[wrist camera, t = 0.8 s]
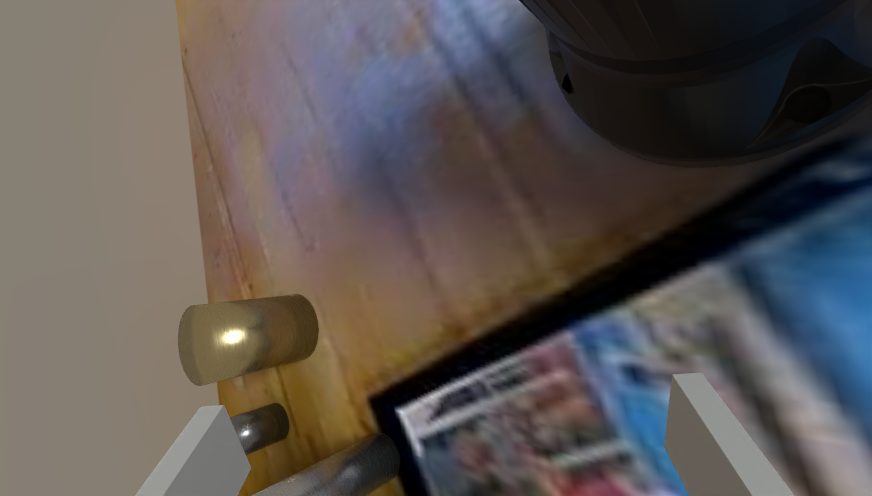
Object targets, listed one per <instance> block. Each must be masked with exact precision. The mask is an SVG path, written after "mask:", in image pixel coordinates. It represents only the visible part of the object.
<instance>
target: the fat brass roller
mask: <svg viewBox="0 0 872 496" xmlns="http://www.w3.org/2000/svg"><path fill="white" fill-rule="evenodd" d="M318 333H319V328H318V320H317V316H316V313H315V310H314V308H313V306H312V305H311V303H310V302H309V301H308V300H307V299H306V298H305V297H303V296H302V295H298V294H294V295H285V296H276V297H267V298H258V299H249V300H239V301H230V302H221V303H212V304H204V305H194V306H190V307H189V308H187V309H186V311H185V312H184V314H183V316H182V318H181V322H180V325H179V332H178V347H179V355H180V359H181V363H182V366H183V369H184V371H185V373H186V375H187V377H188V378H189V379H190V381H191V382H192V383H194V384H195V385H198V386H201V385H206V384H210V383H213V382H217V381H221V380H225V379H229V378H233V377H237V376H241V375H245V374H249V373H253V372H256V371H260V370H264V369H268V368H272V367H276V366H280V365H284V364H288V363H292V362H296V361H300V360H303V359H306V358H308V357H309V356H310V355H311V354H312V353H313V352H314V350H315V348H316V345H317V341H318Z"/></svg>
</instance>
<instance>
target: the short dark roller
mask: <svg viewBox="0 0 872 496" xmlns="http://www.w3.org/2000/svg"><path fill="white" fill-rule="evenodd" d="M230 420H231V422H232V425H233V427H234V429H235V431H236V434H237V436H238V438H239V441H240V443H241V445H242V448H243V450H244V452H245V455H247V454H250V453H252V452H254V451H257V450H259V449H262V448H264V447H267V446H269V445H271V444H274V443H276V442H279V441H281V440H283V439H285V438H286V436H287V434H288V431H289V420H288V416H287V413H286V411H285V409H284V408H283V407H282V406H281V405H280V404H278V403H273V404H270V405H267V406H264V407H261V408H258V409H255V410H252V411H249V412H246V413H243V414H240V415H237V416H234V417H231V418H230Z"/></svg>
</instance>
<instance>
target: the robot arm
mask: <svg viewBox="0 0 872 496" xmlns="http://www.w3.org/2000/svg"><path fill="white" fill-rule="evenodd" d="M519 1H520V2H521V3H522V4H523V5H524V6H525V7H526V8H527V9H528V10H529V11H530V12H531V13H532V14H534V15H535V16H536V17H537V18H538V19H539V20H540V21H541V22H542V23H543V24H544V25H545V29H546V35H547V41H548V47H549V53H550V59H551V63H552V67H553V71H554V74H555V77H556V80H557V82H558V85H559V87H560V89H561V91H562V93H563V95H564V97H565V98H566V100H567V102H568V103H569V105H570V106H571V107H572V109H573V110H574V111H575V113H576V114H577V115H578V116H579V118H580V119H581V120H582V121H583V122H584V123H585V124H586V125H587V126H589V127H590V128H591V129H592V130H593V131H595V132H596V133H597V134H599V135H600V136H601V137H603V138H604V139H606V140H607V141H608V142H610V143H611V144H613V145H614V146H616V147H618V148H619V149H621V150H623V151H625V152H627V153H629V154H632V155H634V156H637V157H639V158H642V159H645V160H648V161H652V162H656V163H660V164H666V165H672V166H681V167H718V166H728V165H735V164H740V163H746V162H750V161H755V160H759V159H763V158H766V157H769V156H773V155H776V154H779V153H782V152H785V151H787V150H790V149H793V148H795V147H798V146H800V145H802V144H805V143H807V142H809V141H811V140H813V139H815V138H817V137H819V136H821V135H823V134H825V133H827V132H829V131H830V130H832V129H834V128H836V127H838V126H839V125H841V124H842V123H844V122H845V121H847V120H849V119H850V118H852V117H853V116H855V115H856V114H858V113H859V112H860V111H862V110H863V109H864V108H866V107H867V106H869V105H870V104H871V103H872V0H519ZM664 447H665V449H666V451H667V453H668V455H669V457H670V459H671V461H672V463H673V465H674V467H675V468H676V470H677V472H678V474H679V476H680V478H681V480H682V482H683V484H684V486H685V488H686V490H687V492H688V494H689V495H690V496H794V494H793V493H792V492H791V490H790V489H789V488H788V486H787V485H786V484H785V482H784V481H783V480H782V478H781V477H780V476H779V474H778V473H777V472H776V470H775V469H774V468H773V466H772V465H771V464H770V462H769V461H768V460H767V459H766V457H765V456H764V455H763V453H762V452H761V451H760V449H759V448H758V447H757V445H756V444H755V443H754V441H753V440H752V439H751V437H750V436H749V435H748V433H747V432H746V431H745V429H744V428H743V427H742V425H741V424H740V423H739V421H738V420H737V419H736V417H735V416H734V415H733V414H732V412H731V411H730V410H729V408H728V407H727V406H726V404H725V403H724V402H723V400H722V399H721V398H720V396H719V395H718V394H717V392H716V391H715V390H714V388H713V387H712V386H711V384H710V383H709V382H708V380H707V379H706V378H705V376H704V375H703V374H702V373H688V374H673V375H672V382H671V391H670V400H669V409H668V418H667V427H666V436H665V445H664ZM250 470H251V466H250V464H249V461H248V459H247V457H246V455H245V452H244V450H243V448H242V445H241V443H240V441H239V438H238V436H237V434H236V431H235V429H234V427H233V425H232V422H231V420H230V418H229V415H228V413H227V411H226V408H225V406H224V405H214V406H201V407H200V408H199V409H198V411H197V412H196V413H195V415H194V416H193V417H192V419H191V420H190V421H189V423H188V424H187V426H186V427H185V428H184V430H183V431H182V432H181V434H180V435H179V436H178V438H177V439H176V441H175V442H174V443H173V445H172V446H171V447H170V449H169V450H168V451H167V453H166V454H165V455H164V457H163V458H162V460H161V461H160V462H159V464H158V465H157V466H156V468H155V469H154V471H153V472H152V473H151V475H150V476H149V477H148V479H147V480H146V482H145V483H144V484H143V485H142V487H141V488H140V490H139V491H138V492H137V494H136V495H135V496H238V494H239V492H240V490H241V488H242V486H243V484H244V482H245V480H246V478H247V476H248V474H249V472H250Z"/></svg>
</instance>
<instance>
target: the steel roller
mask: <svg viewBox="0 0 872 496" xmlns="http://www.w3.org/2000/svg"><path fill="white" fill-rule="evenodd" d="M399 470H400V455H399V452H398V449H397V447H396V445H395V443H394V442H393V441H392V440H391V438H389V437H388V436H387V435H385V434H383V433H376V434H374V435H372V436H370V437H368V438H366V439H364V440H362V441H360V442H358V443H356V444H354V445H352V446H350V447H348V448H346V449H344V450H342V451H340V452H338V453H336V454H334V455H332V456H330V457H328V458H326V459H324V460H322V461H320V462H318V463H316V464H314V465H312V466H310V467H308V468H306V469H304V470H302V471H300V472H298V473H296V474H294V475H292V476H290V477H288V478H286V479H284V480H282V481H280V482H278V483H276V484H274V485H272V486H270V487H268V488H266V489H264V490H262V491H260V492H258V493H256V494H254V495H252V496H367V495H369V494H370V493H372V492H373V491H375V490H377V489H378V488H380V487H381V486H383V485H384V484H386V483H387V482H389V481H390V480H392V479H393V478H395V477H396V476H397V475H398V473H399Z"/></svg>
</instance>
